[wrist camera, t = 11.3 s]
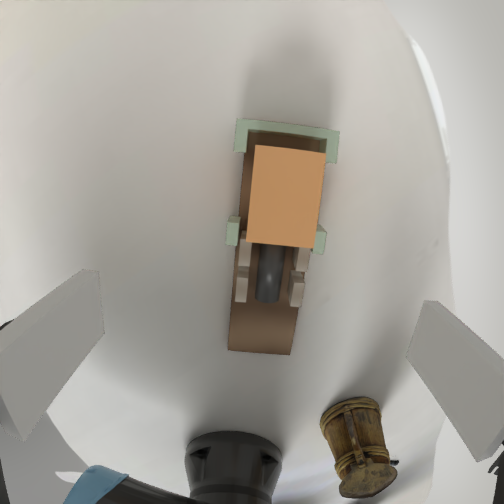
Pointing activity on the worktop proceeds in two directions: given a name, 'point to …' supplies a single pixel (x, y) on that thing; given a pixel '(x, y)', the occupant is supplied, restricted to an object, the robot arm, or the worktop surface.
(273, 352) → the board
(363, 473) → the wooden mug
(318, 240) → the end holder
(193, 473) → the robot arm
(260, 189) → the plug
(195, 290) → the worktop surface
